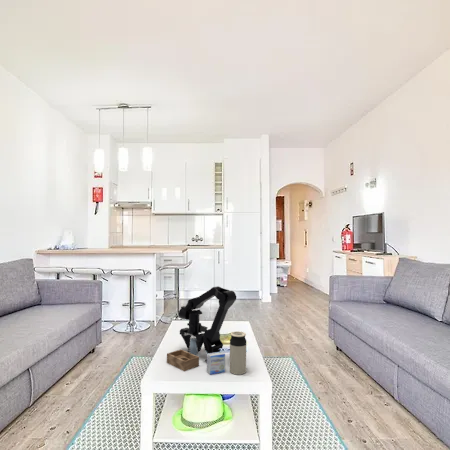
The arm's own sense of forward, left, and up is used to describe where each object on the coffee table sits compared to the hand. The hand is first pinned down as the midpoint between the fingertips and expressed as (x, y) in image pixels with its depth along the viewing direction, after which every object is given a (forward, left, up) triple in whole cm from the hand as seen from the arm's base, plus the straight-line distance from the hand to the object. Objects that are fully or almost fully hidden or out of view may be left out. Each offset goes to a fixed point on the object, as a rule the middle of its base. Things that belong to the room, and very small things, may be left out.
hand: (193, 350), depth 172 cm
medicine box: (-25, +7, -2) cm, 26 cm away
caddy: (-7, +13, -2) cm, 15 cm away
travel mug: (-32, -1, -2) cm, 32 cm away
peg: (0, 0, -2) cm, 2 cm away
